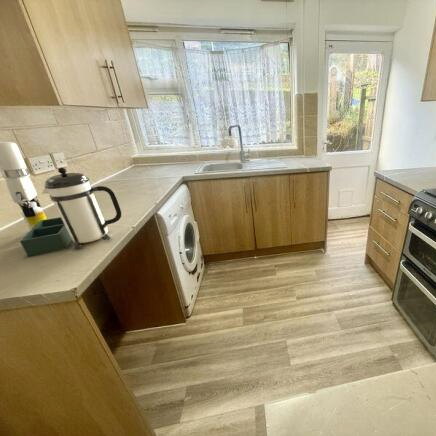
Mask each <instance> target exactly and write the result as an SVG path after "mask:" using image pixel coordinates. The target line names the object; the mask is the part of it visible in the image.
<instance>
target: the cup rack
mask: <svg viewBox="0 0 436 436" xmlns="http://www.w3.org/2000/svg"><path fill="white" fill-rule="evenodd" d="M71 241H72V239H71V237H70V235H69V233H68V231H67V229H66V227H65V225H64V222H63V220H62V218H61V216H59V217H52V218H47V219H46V220H41V221H40V222H39V223H38V224H37V225H36V226H35V227H34V228H33V229H32V230H31V231H30V230H29V231H28V233H27V234H25V235H24V236H23V237H22V238H21V239H20V240H19V242H20V244H21V246H22V248H23V250H24V252H25V253H26V255H27V257H33V256H38V255H42V254H47V253H51V252H56V251H61V250H64V249H67V247H68V246H69V244H70V243H71Z"/></svg>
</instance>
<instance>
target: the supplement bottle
mask: <svg viewBox="0 0 436 436" xmlns="http://www.w3.org/2000/svg"><path fill="white" fill-rule="evenodd" d="M25 203H26V204H27V202H25ZM30 205H31V207H33V210H34V212H35V214H36V216H33V217H25V215H24V213H23V211H22V210H21V215H22V218H23V219H24V221H25V223H26V225H27V227H28V229H29V232H30V231H31V230H32V229H33V228H34V227H35V226H36V225H37V224H38V223H39V222H40V221H41V220H46V219H48V218H47V215H46V214H45V212H44V209H43V208H42V206H41V207H37V204H36V202H30Z"/></svg>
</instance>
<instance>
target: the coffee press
mask: <svg viewBox="0 0 436 436" xmlns="http://www.w3.org/2000/svg"><path fill="white" fill-rule="evenodd" d="M57 172H58V173H59V174H56V175H53V176H49V177H48V178H46V179H45V182H44V185H43V187H44V188H43V190H42V192H41V194H42V195H45V194H49V199H50V200H51V202H53V205H54V206H55V208H56V210H57V212H58V214H59V217H61V218H62V220H63V222H64V225H65V227H66V229H67V231H68V233H69V235H70V237H71V241H73V243H74V249H78V250H79V249H80V248H82V247H83V245H84V244H86V243H90V242H94V241H97V240H99V239H103V240H104V241H106V240H107V241H109V240H110V239H111V236H110V235H108V233H109V229H108V226H109V225H111V224H114V223H116V222H118V221H119V220H121V217H122V209H121V207H120V204H119V202H118V199H117V197H116V194H115V192H114V190H112V189H111V188H109V187H107V186H105V185H98V186H94V187H92V186H91V184H90V178H89V177H87V175H85V174H84V173H82V172H67V169H66V168H65V167H59V168H58V169H57ZM102 191H103V192H105V193H107V194H108V195H109V197H110V199H111V202H112V204H113V207H114V210H115V216H114V217H113V218H111V219H110V218H109V219H106V220H105V218H104V216H103V213H102V211H101V209H100V206H99V204H98V201H97V199H96V195H95V192H102Z"/></svg>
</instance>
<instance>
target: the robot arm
mask: <svg viewBox="0 0 436 436" xmlns="http://www.w3.org/2000/svg"><path fill="white" fill-rule="evenodd" d="M0 173H1V175H2V178H3V179H4V180H5V184H6V186H7V189H8V190H7V191H8V192H9V194H10V197H11V199H12V201H13V202H14V203H15V204H17V205H18V206H19V207H20V209H21V212H22V211H23V213H24V215H25V217H33V216H36V214H35V212H34V210H33V207H31V205H30V202H36V204H37V207H41V208H42V206H41V203H40V201H39V199H38V192H37V189H36V188H35V185H34V183H33V182H32V180H31V178H30V176H31V174H30V172H29V169H28V167H27V165H26V162H25V160H24V158H23V156H22V153H21V151H20V148H19V146H18V144H17V143H15V142H13V141H0ZM26 203H27V204H26Z"/></svg>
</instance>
